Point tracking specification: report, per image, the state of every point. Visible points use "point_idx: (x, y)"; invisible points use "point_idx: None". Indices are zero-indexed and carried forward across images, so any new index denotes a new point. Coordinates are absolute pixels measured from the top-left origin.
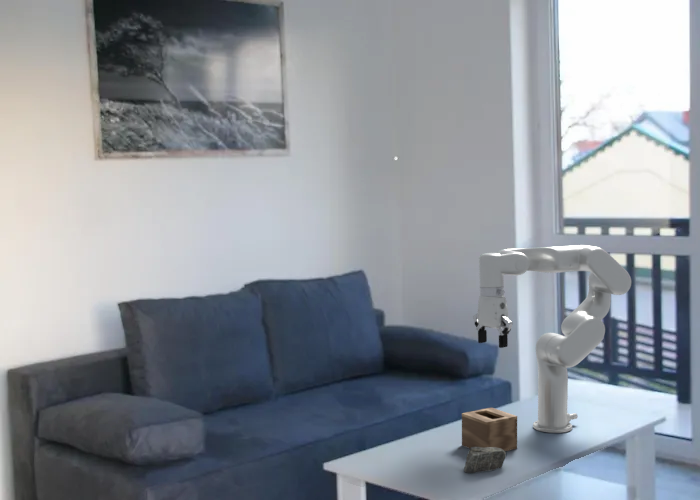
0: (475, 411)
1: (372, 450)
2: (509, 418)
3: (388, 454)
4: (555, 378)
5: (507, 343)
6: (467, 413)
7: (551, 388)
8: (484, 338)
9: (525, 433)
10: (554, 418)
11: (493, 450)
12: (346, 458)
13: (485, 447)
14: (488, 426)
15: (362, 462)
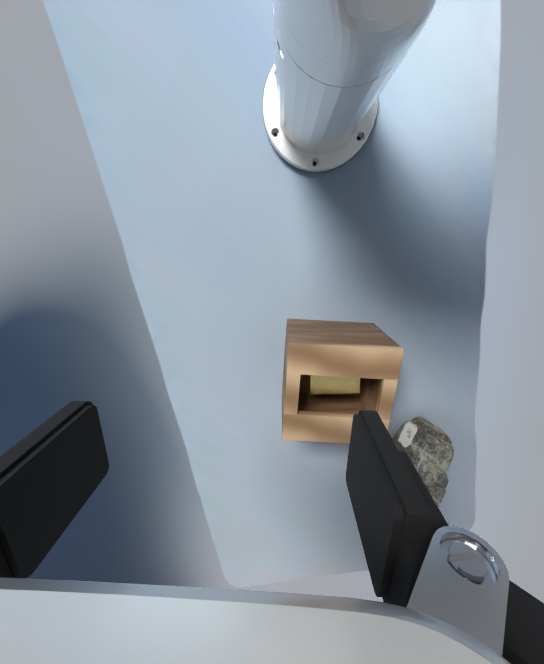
0: (291, 403)
1: (210, 518)
2: (397, 376)
3: (243, 512)
4: (422, 23)
5: (383, 425)
6: (292, 430)
7: (385, 78)
8: (77, 450)
9: (305, 218)
10: (359, 124)
11: (441, 466)
12: (222, 561)
13: (415, 464)
14: None
15: (252, 556)
